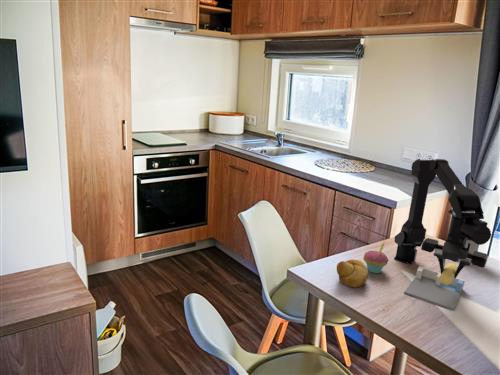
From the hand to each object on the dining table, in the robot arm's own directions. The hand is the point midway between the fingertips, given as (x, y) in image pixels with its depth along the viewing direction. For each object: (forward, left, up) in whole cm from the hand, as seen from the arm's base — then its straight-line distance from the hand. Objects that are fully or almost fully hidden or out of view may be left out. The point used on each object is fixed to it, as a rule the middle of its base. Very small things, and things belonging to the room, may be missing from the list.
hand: (448, 276), depth 138 cm
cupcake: (-24, +1, -7) cm, 25 cm away
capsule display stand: (-3, 0, -7) cm, 8 cm away
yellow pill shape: (0, 0, -1) cm, 1 cm away
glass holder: (0, +33, -7) cm, 34 cm away
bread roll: (-27, -12, -7) cm, 30 cm away
